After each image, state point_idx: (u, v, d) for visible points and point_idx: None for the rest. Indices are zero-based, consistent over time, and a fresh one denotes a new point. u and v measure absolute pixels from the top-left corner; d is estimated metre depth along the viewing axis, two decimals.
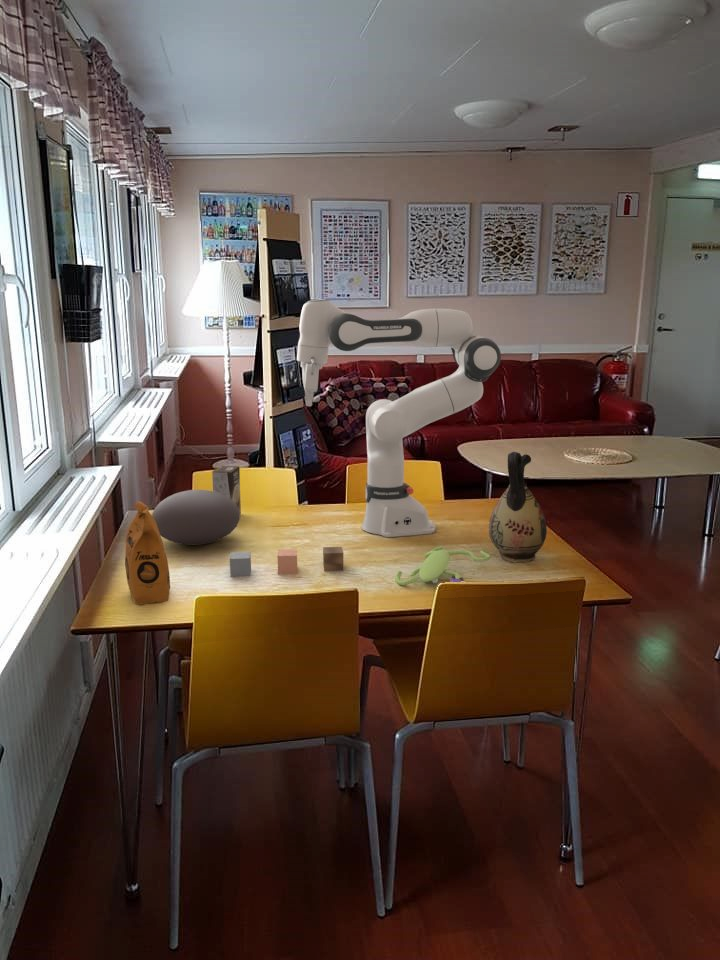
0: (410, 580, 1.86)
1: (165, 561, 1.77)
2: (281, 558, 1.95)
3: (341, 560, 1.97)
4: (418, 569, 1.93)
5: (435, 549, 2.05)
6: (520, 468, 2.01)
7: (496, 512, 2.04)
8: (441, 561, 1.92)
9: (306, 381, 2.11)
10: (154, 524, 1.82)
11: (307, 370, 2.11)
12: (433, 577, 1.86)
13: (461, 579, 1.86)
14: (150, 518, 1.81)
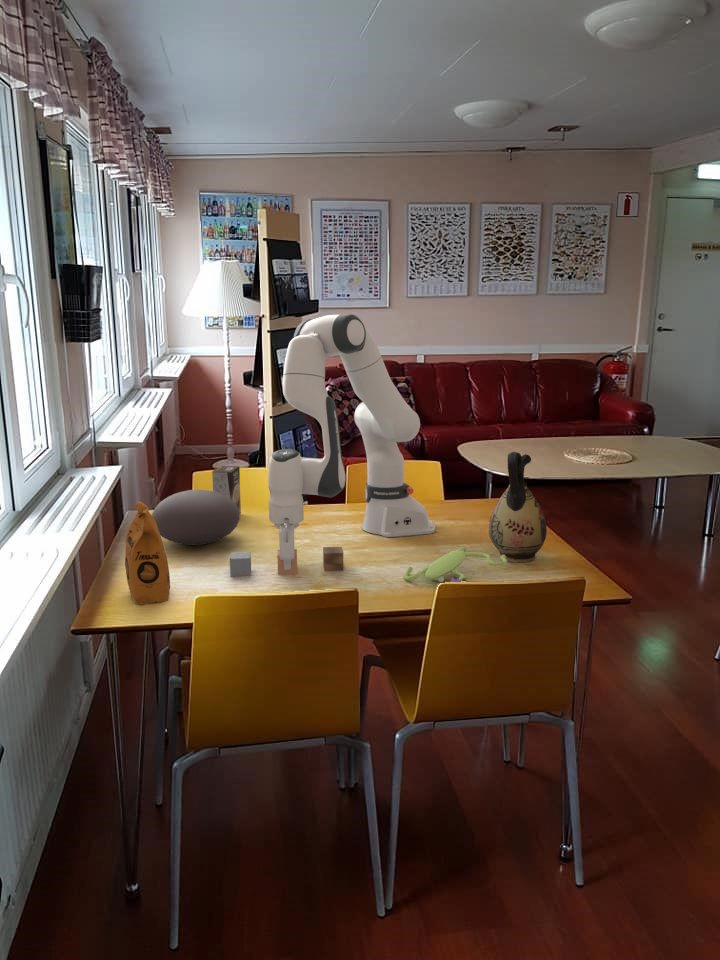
0: (413, 576, 1.89)
1: (165, 561, 1.77)
2: None
3: (341, 560, 1.97)
4: (429, 567, 1.95)
5: (459, 550, 2.05)
6: (520, 468, 2.01)
7: (496, 512, 2.04)
8: (450, 561, 1.92)
9: (281, 549, 1.86)
10: (154, 524, 1.82)
11: (281, 537, 1.86)
12: (436, 575, 1.87)
13: (463, 580, 1.86)
14: (150, 518, 1.81)
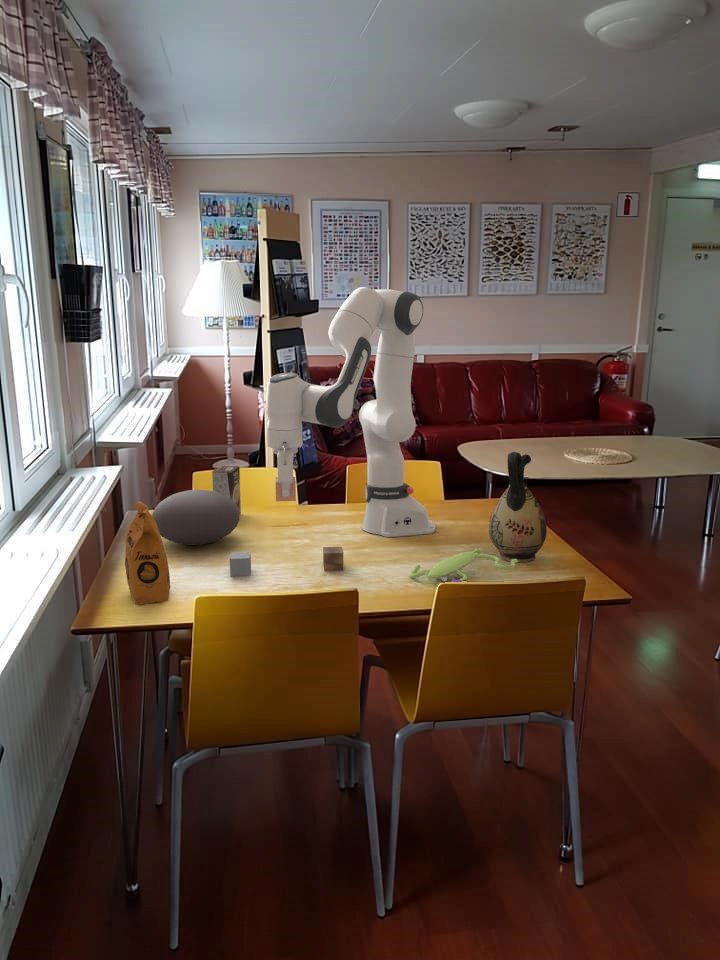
0: (416, 574, 1.90)
1: (165, 561, 1.77)
2: (279, 484, 1.90)
3: (341, 560, 1.97)
4: None
5: (473, 551, 2.04)
6: (520, 468, 2.01)
7: (496, 512, 2.04)
8: (456, 562, 1.92)
9: (279, 472, 1.82)
10: (154, 524, 1.82)
11: (279, 460, 1.81)
12: (438, 575, 1.88)
13: None
14: (150, 518, 1.81)
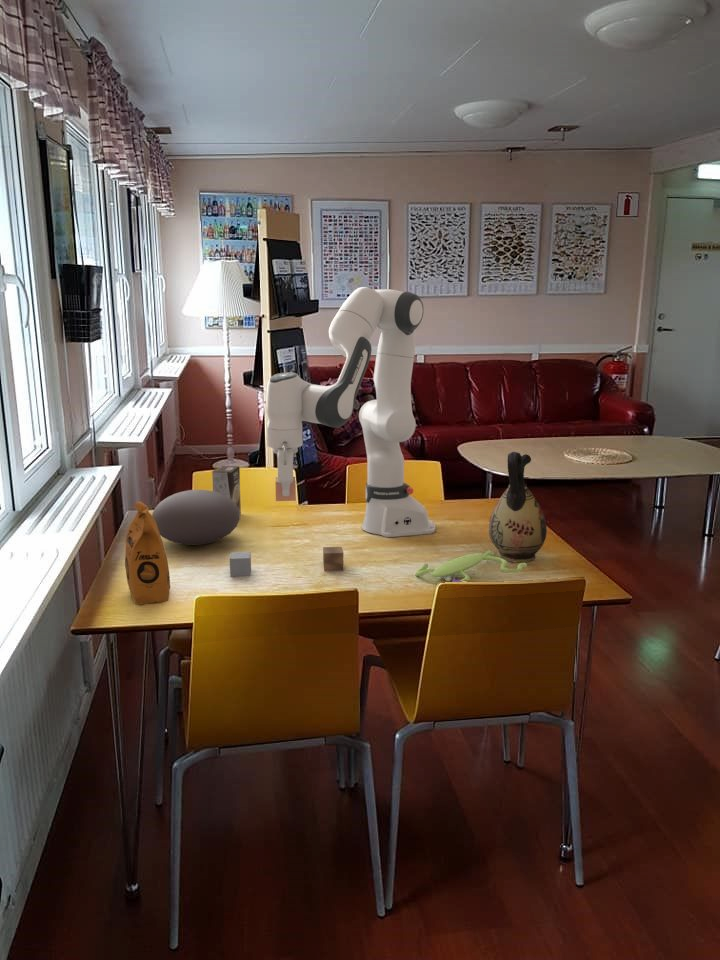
0: (420, 572, 1.92)
1: (165, 561, 1.77)
2: (279, 484, 1.90)
3: (341, 560, 1.97)
4: None
5: (486, 553, 2.02)
6: (520, 468, 2.01)
7: (496, 512, 2.04)
8: (461, 562, 1.91)
9: (279, 472, 1.82)
10: (154, 524, 1.82)
11: (279, 459, 1.81)
12: (440, 574, 1.88)
13: None
14: (150, 518, 1.81)
